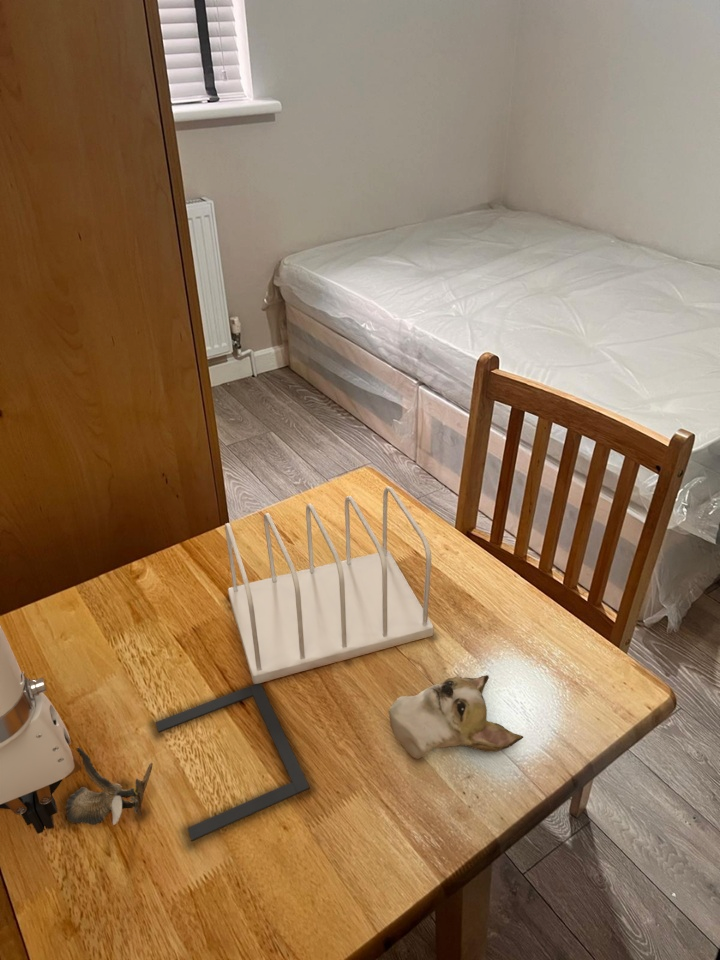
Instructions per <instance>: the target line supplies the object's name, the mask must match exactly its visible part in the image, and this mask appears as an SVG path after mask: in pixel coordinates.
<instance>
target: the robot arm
mask: <svg viewBox="0 0 720 960" xmlns="http://www.w3.org/2000/svg"><path fill="white" fill-rule="evenodd" d="M47 691H48V686H47V683H46V680H45V678H44V677H40V678H36V679H35V678H33V679H31V678H29V677H27V676H26V674H25V671H22V670H21V668H20V666H19V663H18V661H17V658H16V656H15V654H14V652H13V649H12V647H11V645H10V642H9V640H8V639H7V636H6V634H5V632H4V630H3V628H2V625H1V624H0V809H1V810H10V811H12V812H13V813H14V814H15V815H16V816H18V815H21V817H22V819H23V820H24V823H25V824H26V826H30V825H32V826H33V829H34V830H35V832H36V834H37V835H39V834H42V833H43V832H44V831H45V830H51V829H53V828H55V825H54V819H53V815H56V814H58V807H57V802H56V800H55V797H54V796H53V794H54V792H55V791H56V789H57V788H58V787H59V786H60V785H61V783H62V782H63V779H67V778H69V777H70V776H72V775H74V774H76V773H78V772H79V771H81V769H82V767H83V766H82V761H81V756H80V755H78V754H77V752H75V750H73V748H71V747H70V745H71V744H72V741H71V737H70V734H69V731H68V729H67V726H66V725H65V723H64V721H63V719H62V718H61V716H60V714H59V713H58V710H56V707H55V706H54V705H53V703H52V702H51V701H50V698H48V696H47V695H46V694H45V692H47Z"/></svg>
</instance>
